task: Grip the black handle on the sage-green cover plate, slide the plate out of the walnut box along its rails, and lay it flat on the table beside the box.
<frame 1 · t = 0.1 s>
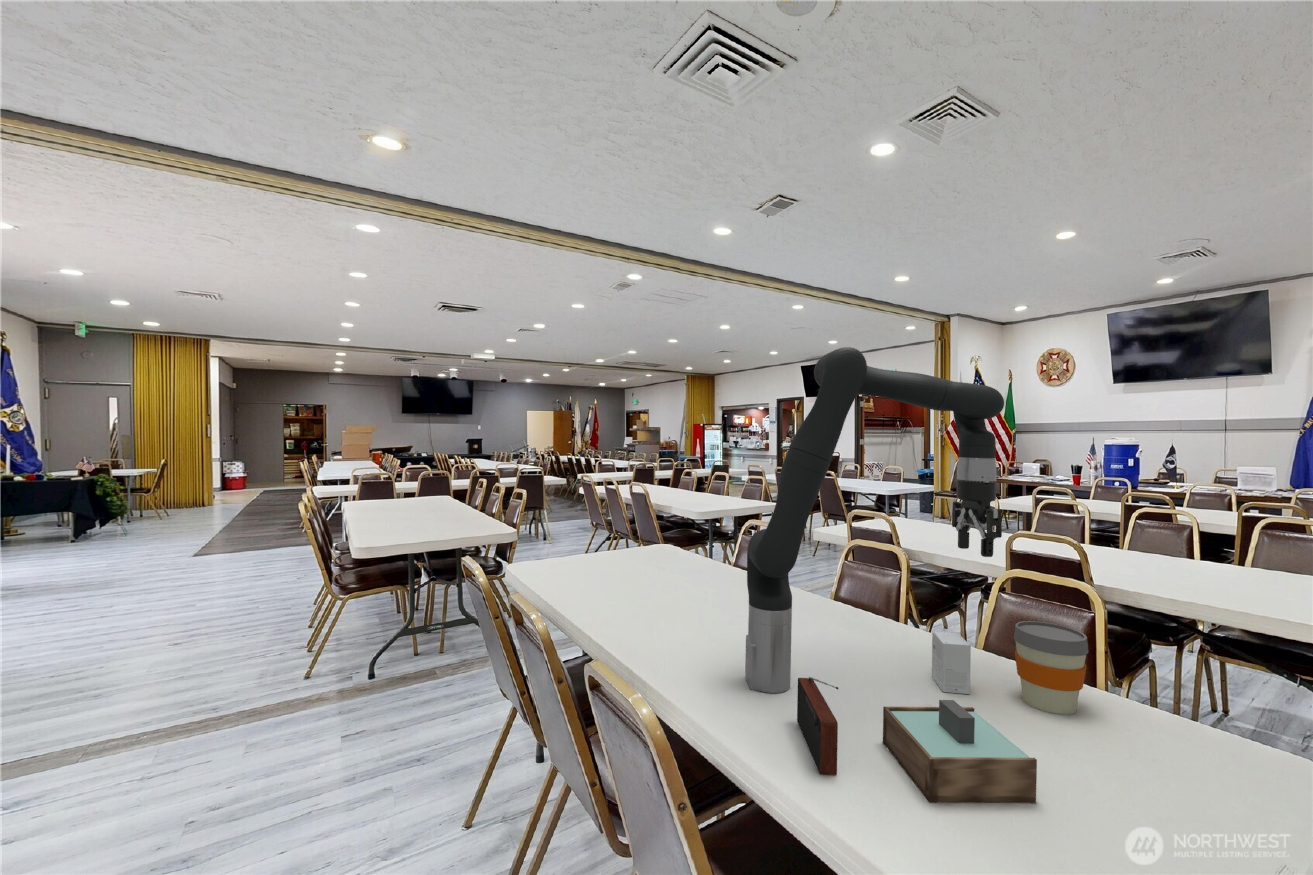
hand: (974, 552, 122), 29 cm above the table, fingers open, 8 cm apart
cover plate: (955, 739, 90), point 5 cm above the table, touching walnut box
walnut box: (952, 770, 90), on the table
reusable coffee cup: (1048, 704, 114), on the table
small box: (950, 686, 122), on the table
radio: (815, 751, 95), on the table
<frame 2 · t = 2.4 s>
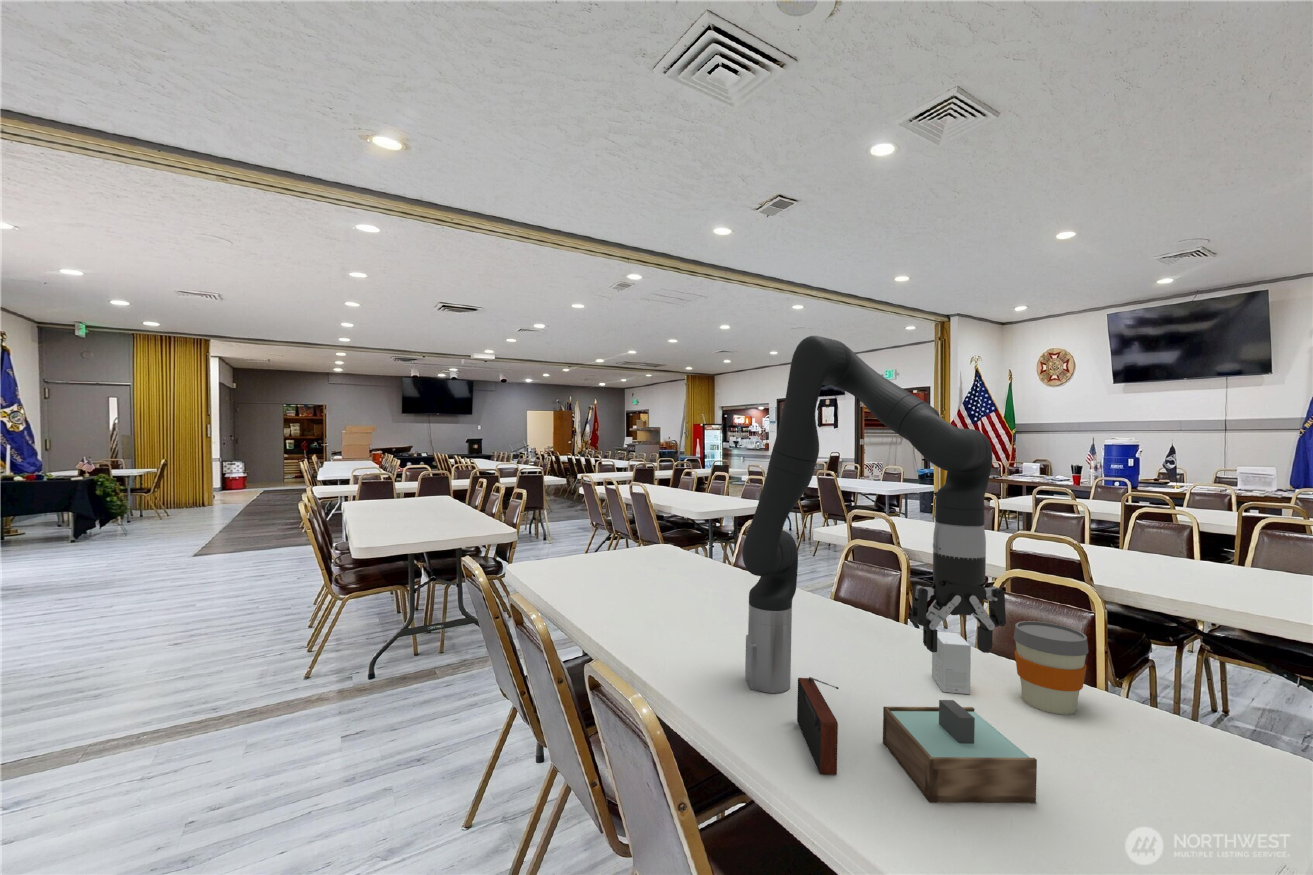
hand: (957, 650, 90), 19 cm above the table, fingers open, 8 cm apart
nothing on the table moved.
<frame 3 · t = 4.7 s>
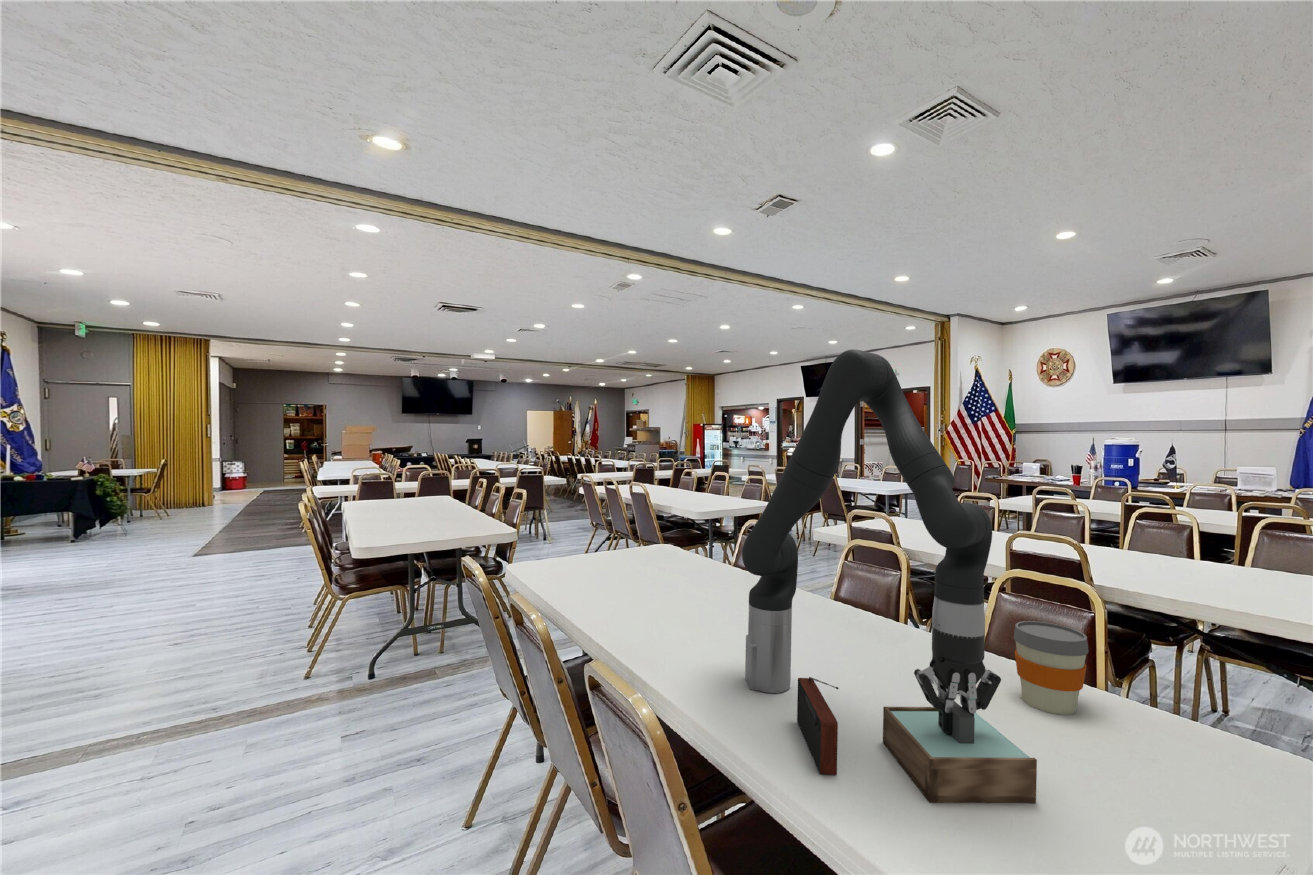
hand: (956, 732, 90), 6 cm above the table, fingers closed on cover plate, 2 cm apart
cover plate: (955, 739, 90), point 5 cm above the table, touching gripper, walnut box
everything else where it was.
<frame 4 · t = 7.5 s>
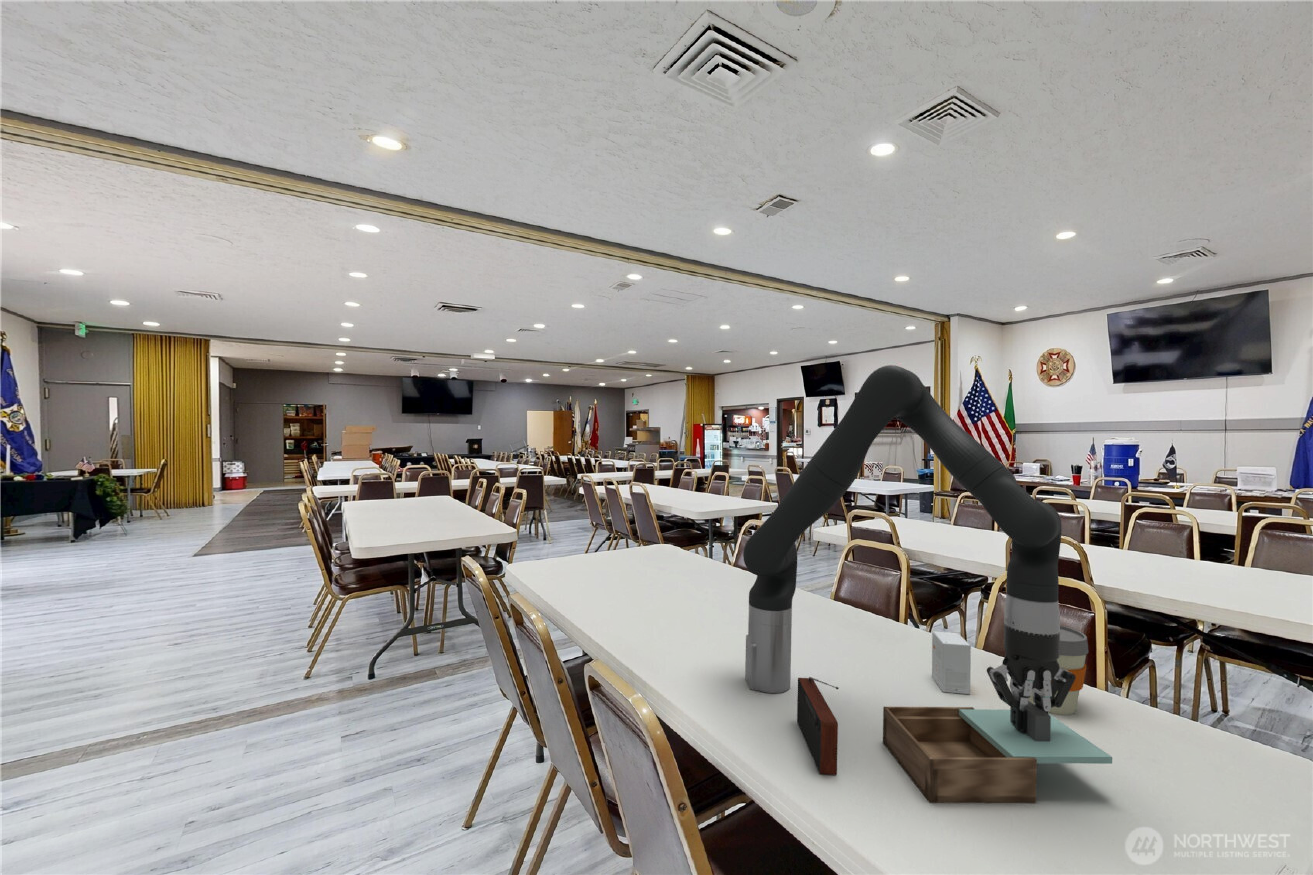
hand: (1029, 730, 90), 7 cm above the table, fingers closed on cover plate, 2 cm apart
cover plate: (1029, 737, 90), point 6 cm above the table, touching gripper
everything else where it was.
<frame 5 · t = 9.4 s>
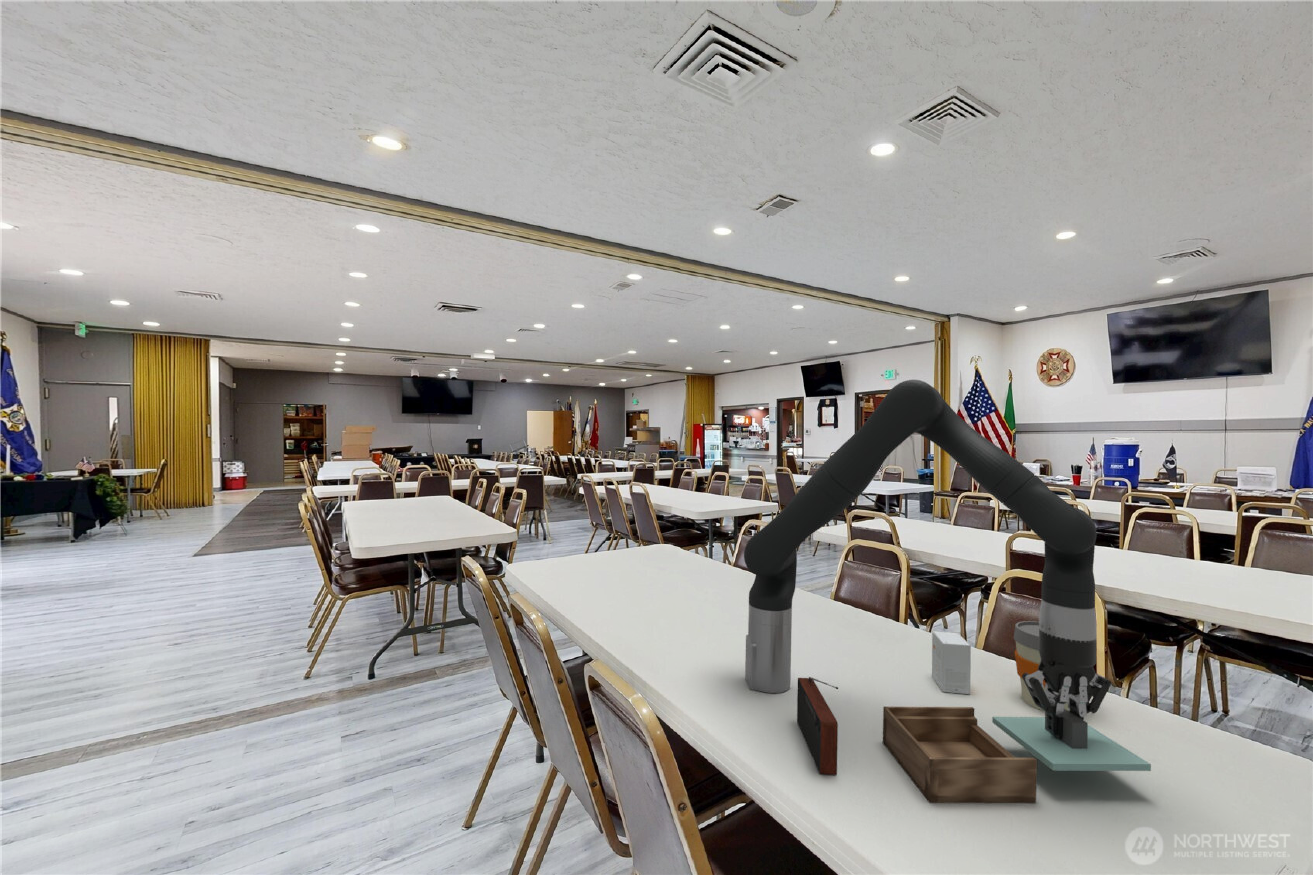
hand: (1065, 736, 91), 6 cm above the table, fingers closed on cover plate, 2 cm apart
cover plate: (1065, 744, 90), point 4 cm above the table, touching gripper
everything else where it was.
when the fingers open (2 cm above the table, at t = 10.6 s): cover plate drops 1 cm, on the table.
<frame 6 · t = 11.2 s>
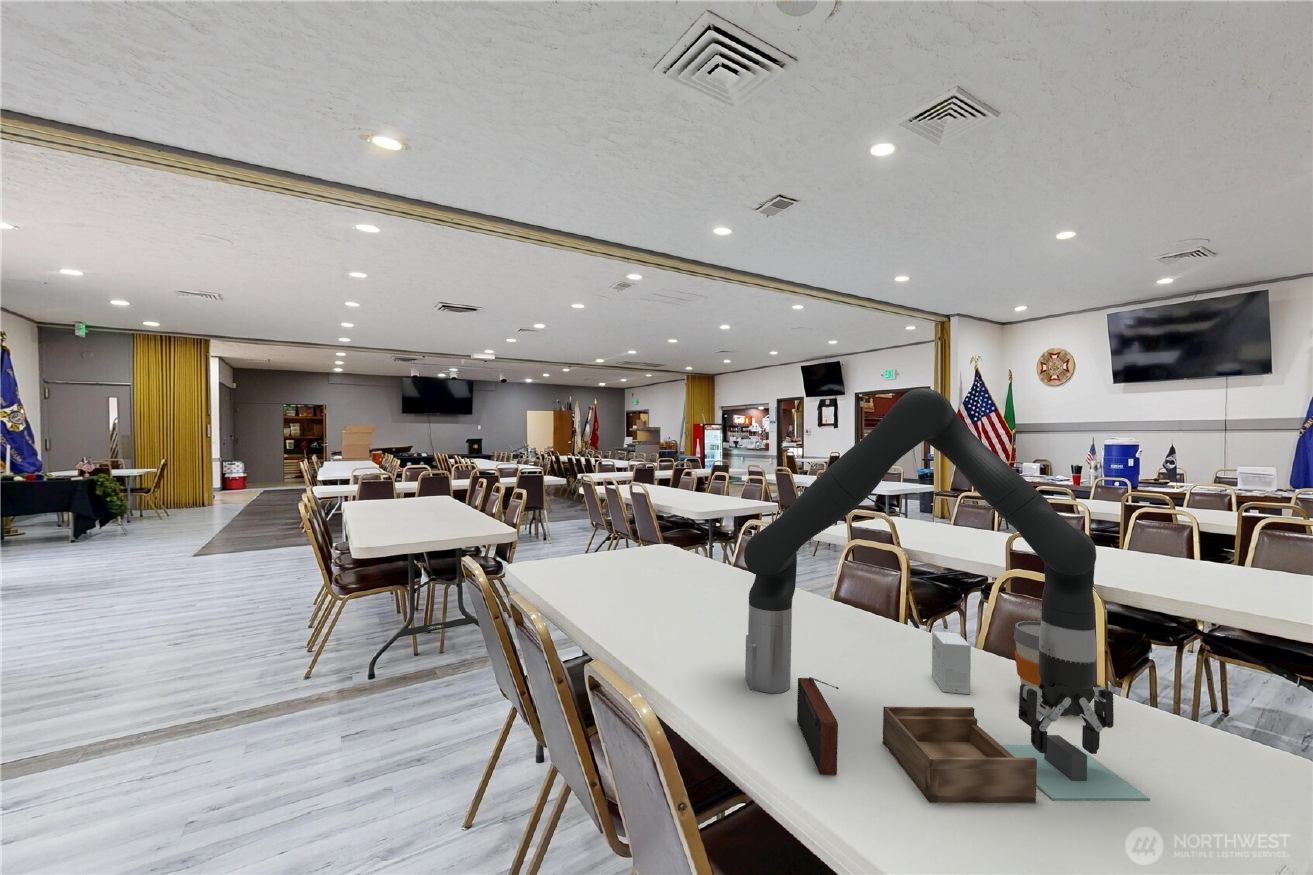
hand: (1064, 750, 91), 3 cm above the table, fingers open, 8 cm apart
cover plate: (1064, 775, 90), on the table
everything else where it was.
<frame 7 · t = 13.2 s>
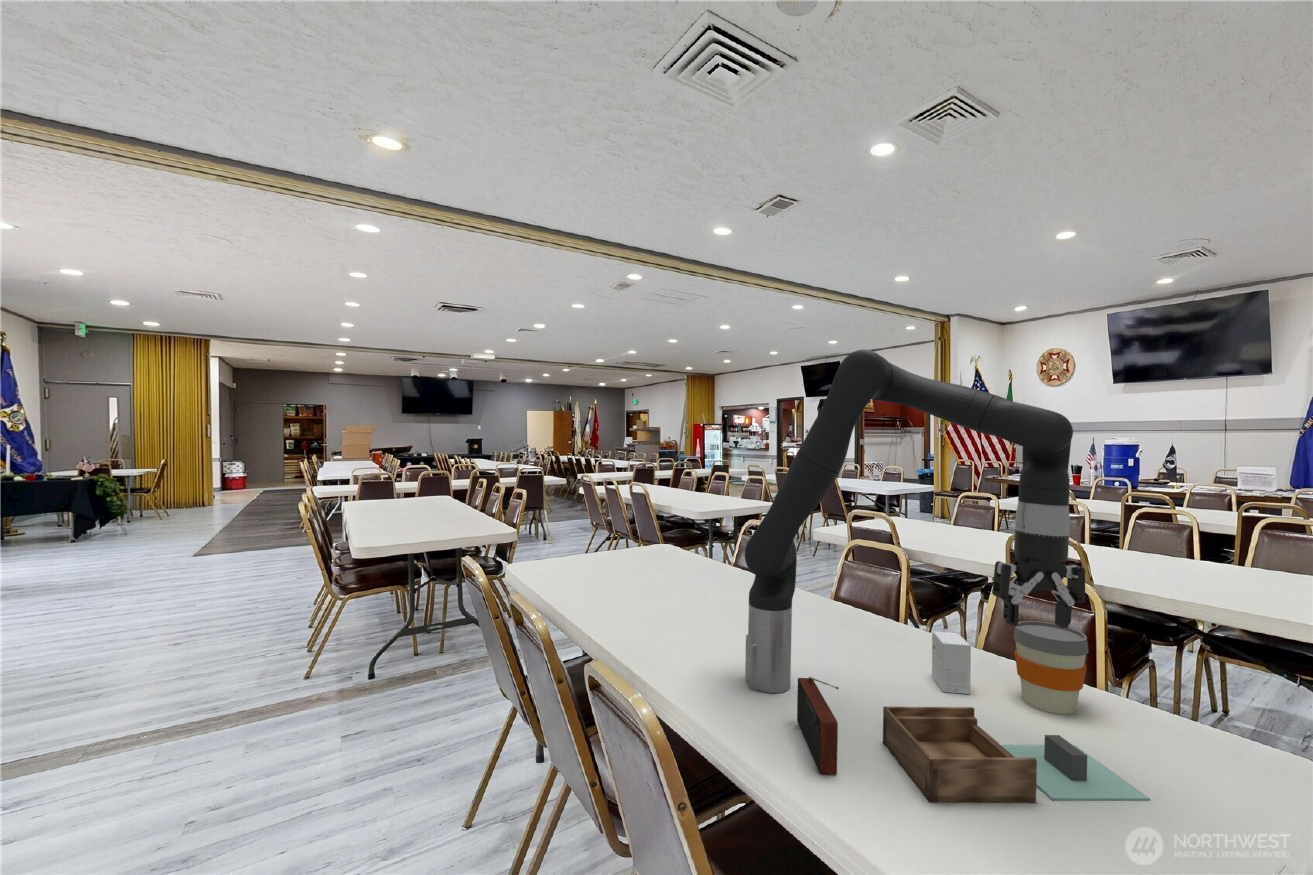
hand: (1036, 625, 94), 23 cm above the table, fingers open, 8 cm apart
nothing on the table moved.
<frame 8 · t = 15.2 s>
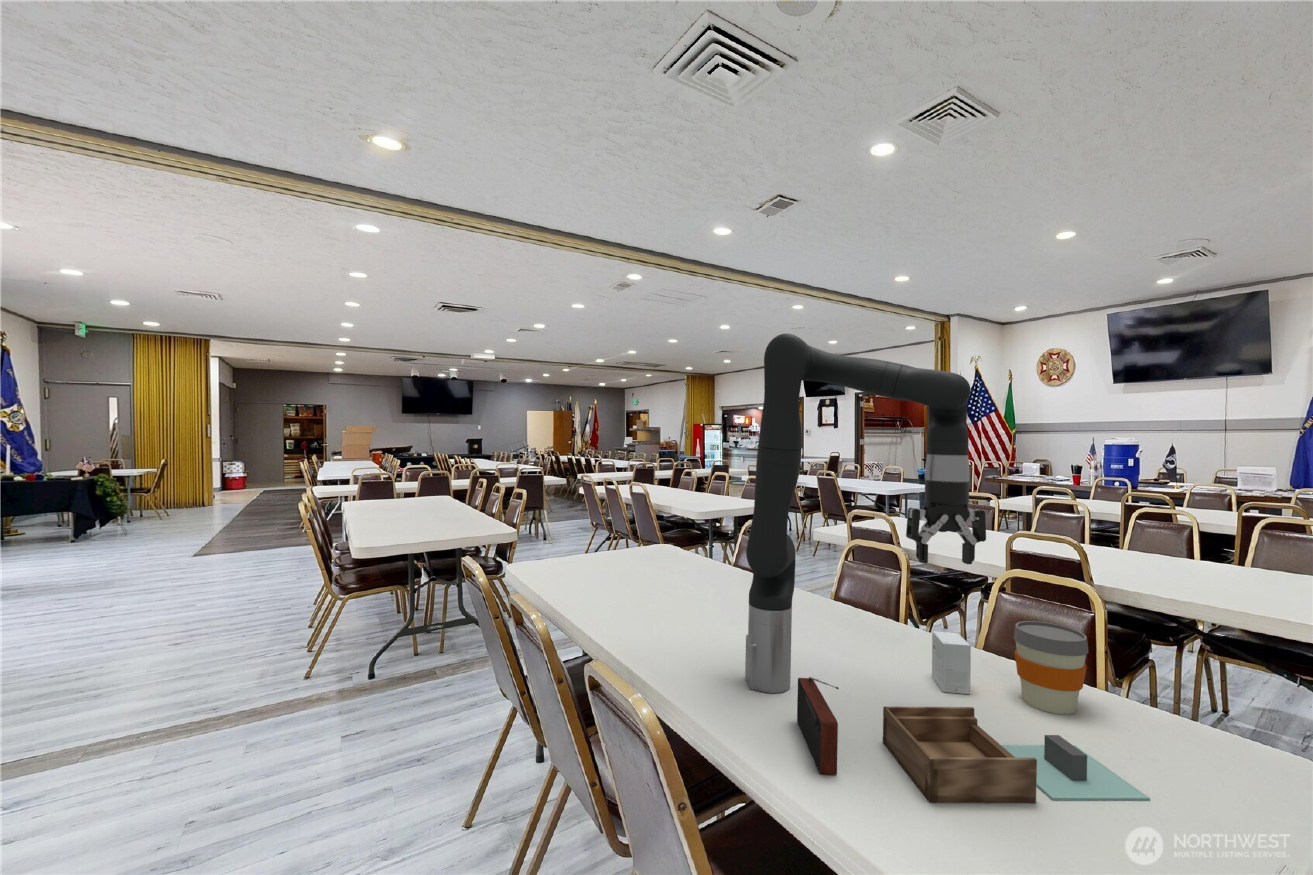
hand: (945, 563, 106), 30 cm above the table, fingers open, 8 cm apart
nothing on the table moved.
at the end: cover plate inside the target area (0.6 cm from its centre), on the table; cover plate tilted 0°; the gripper is holding nothing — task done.
